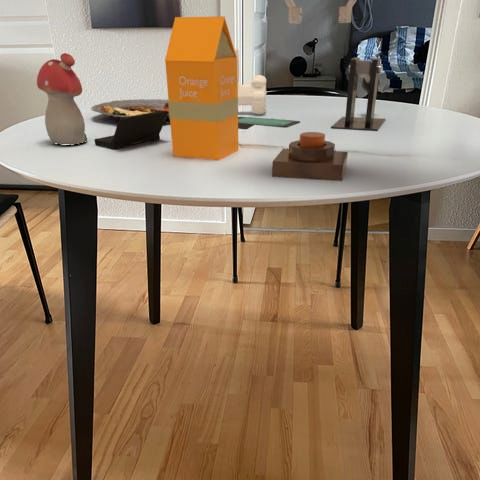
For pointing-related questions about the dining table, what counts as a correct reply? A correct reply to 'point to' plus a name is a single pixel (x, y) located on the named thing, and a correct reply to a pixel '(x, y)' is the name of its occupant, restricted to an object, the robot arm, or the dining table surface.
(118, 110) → the food plate
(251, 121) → the smartphone
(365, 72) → the switch lever
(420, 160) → the dining table surface
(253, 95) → the dog bone
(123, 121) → the black angled stand
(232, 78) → the orange juice
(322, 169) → the button block
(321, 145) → the button
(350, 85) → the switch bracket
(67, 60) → the decorative ornament
